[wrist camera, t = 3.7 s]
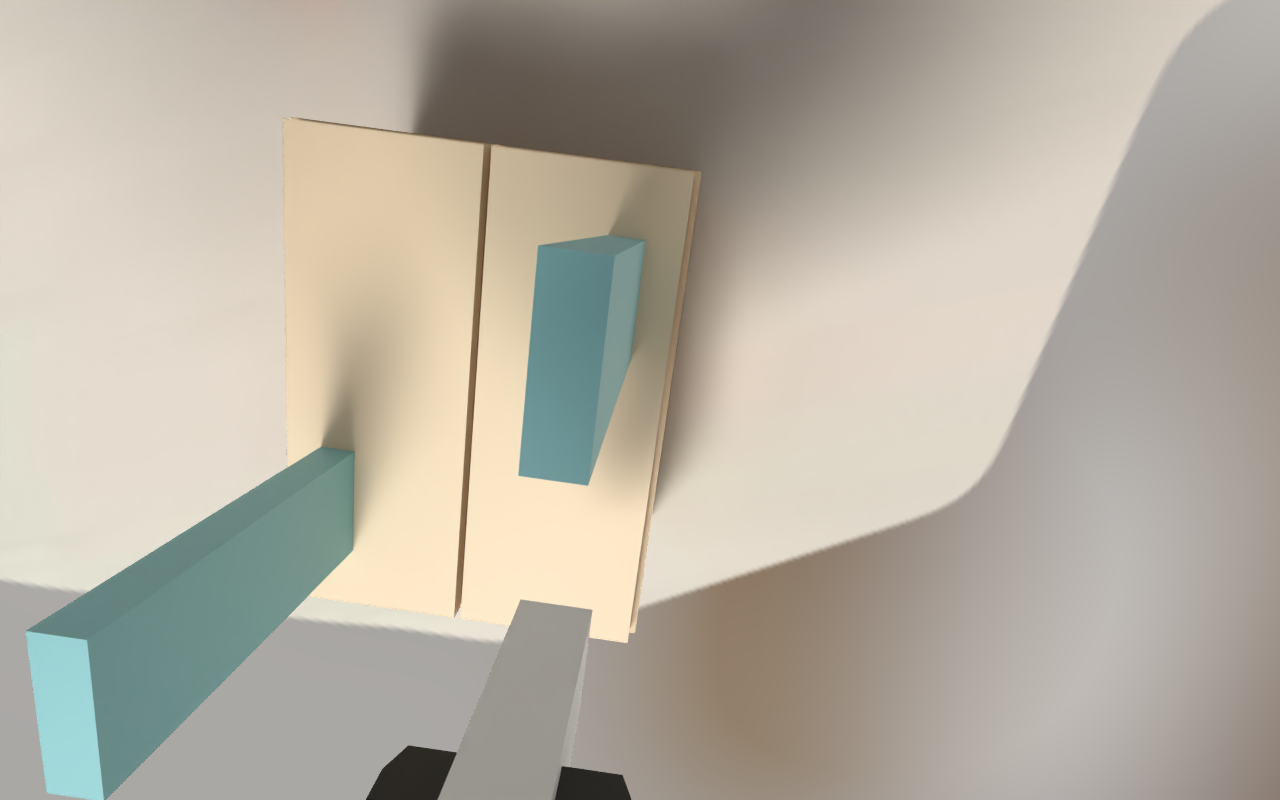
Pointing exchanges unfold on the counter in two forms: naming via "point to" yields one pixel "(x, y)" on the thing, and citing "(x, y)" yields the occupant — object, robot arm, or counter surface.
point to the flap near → (569, 381)
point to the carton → (670, 357)
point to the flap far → (303, 457)
